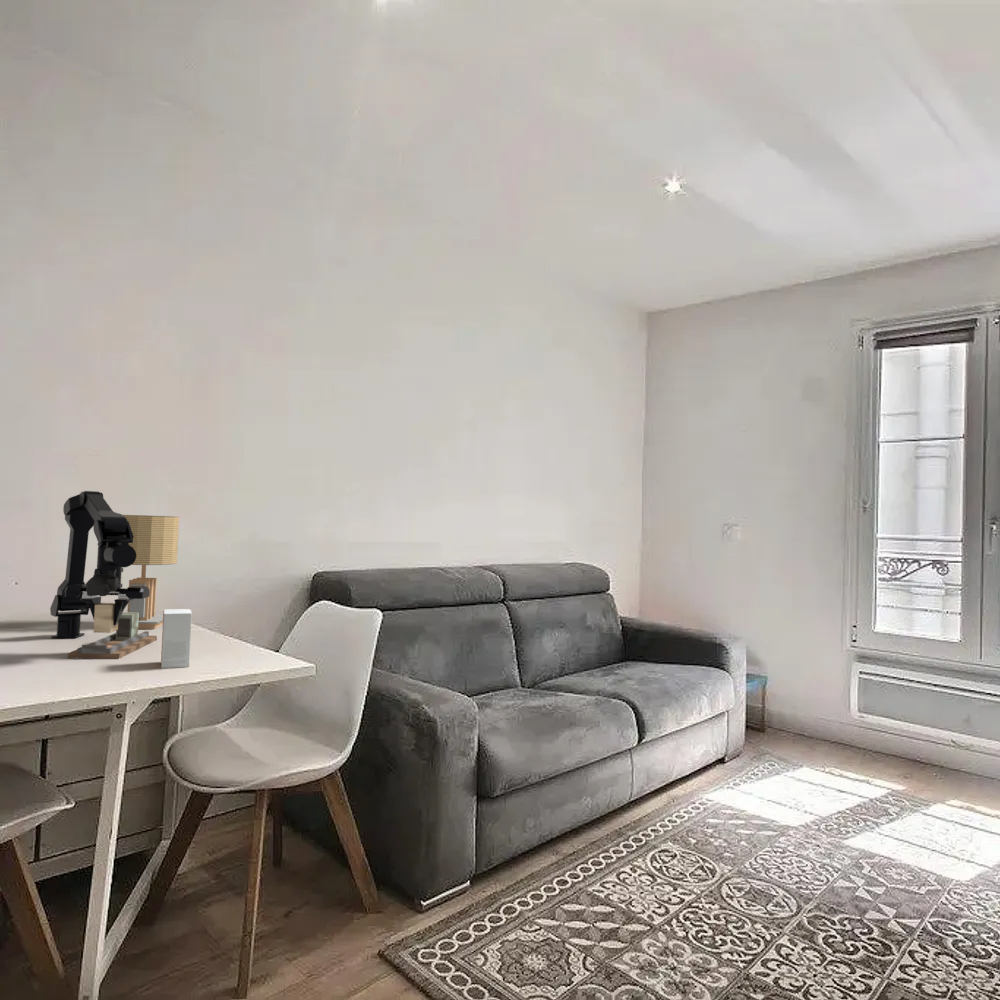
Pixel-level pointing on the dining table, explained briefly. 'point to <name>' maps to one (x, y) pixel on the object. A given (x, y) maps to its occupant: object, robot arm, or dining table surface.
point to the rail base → (116, 641)
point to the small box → (176, 638)
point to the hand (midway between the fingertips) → (106, 625)
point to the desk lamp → (151, 560)
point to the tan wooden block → (104, 618)
